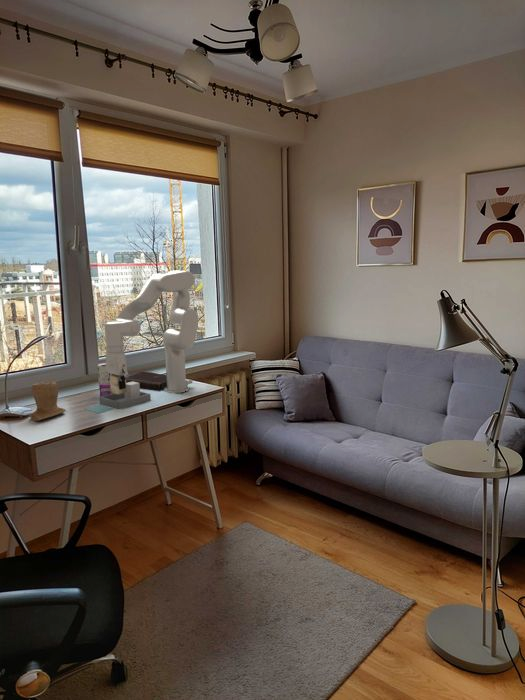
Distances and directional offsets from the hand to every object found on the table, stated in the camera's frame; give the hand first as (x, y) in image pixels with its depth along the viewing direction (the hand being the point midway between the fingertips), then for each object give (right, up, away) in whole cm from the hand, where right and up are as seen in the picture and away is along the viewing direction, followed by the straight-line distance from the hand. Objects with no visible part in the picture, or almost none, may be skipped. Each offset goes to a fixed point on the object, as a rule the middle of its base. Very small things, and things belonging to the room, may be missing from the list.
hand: (118, 387), depth 228 cm
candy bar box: (-8, -6, +16) cm, 18 cm away
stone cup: (-27, -12, -15) cm, 33 cm away
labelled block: (0, -2, 0) cm, 2 cm away
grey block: (+5, -6, +7) cm, 11 cm away
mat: (-7, -10, -7) cm, 13 cm away
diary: (+7, -2, +36) cm, 36 cm away
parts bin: (+2, -7, +4) cm, 9 cm away
